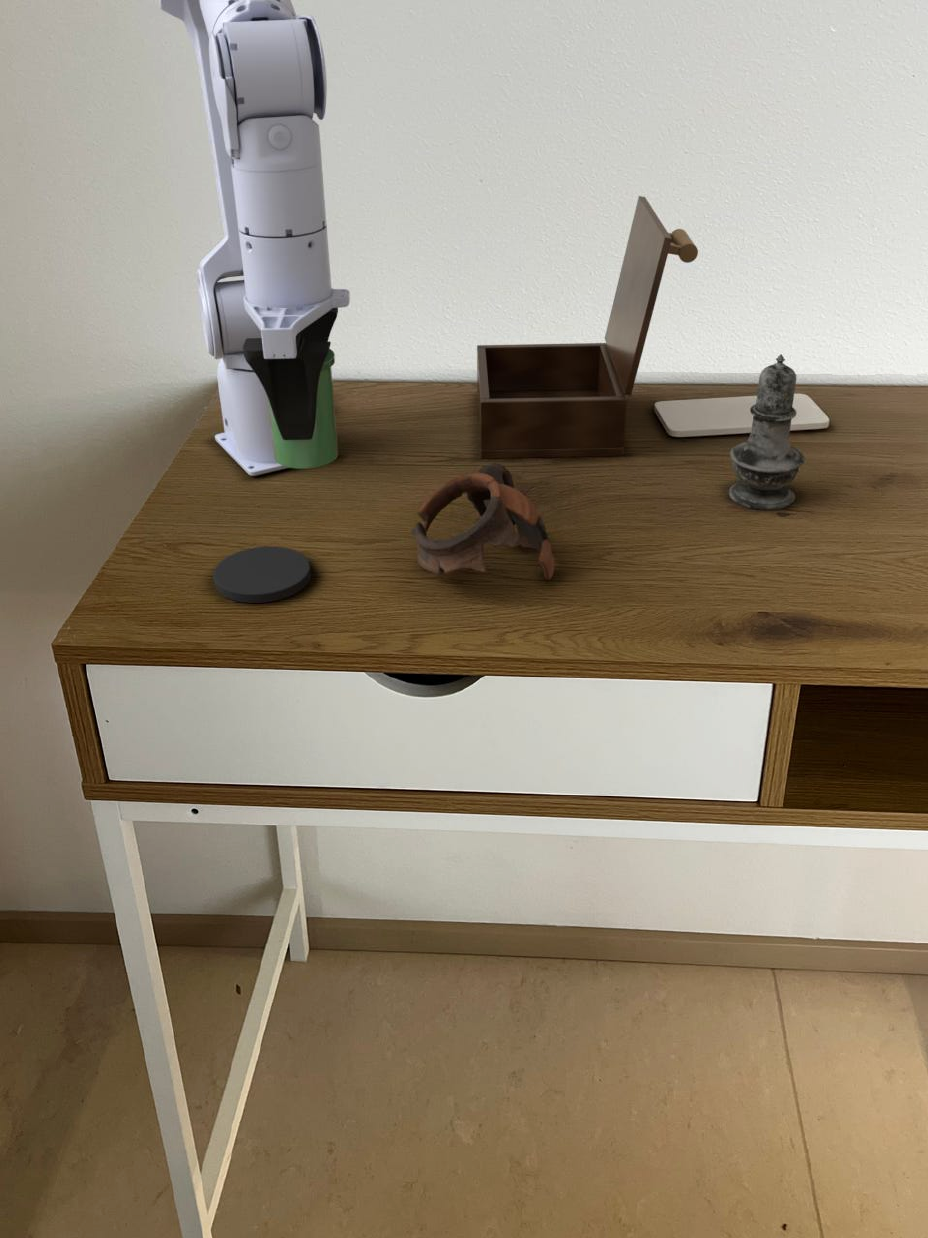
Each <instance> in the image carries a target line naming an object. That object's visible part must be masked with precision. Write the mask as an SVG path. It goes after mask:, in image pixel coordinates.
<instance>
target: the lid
mask: <svg viewBox="0 0 928 1238" xmlns="http://www.w3.org/2000/svg"><path fill="white" fill-rule="evenodd" d="M669 255H675V256H678V258H679V259H680V261H682V262H683V263H686V264H689V263H692V262H694V261H695V260H696V259H697V258H698V255H699V250H698V246H696V244H695V243H694V241H693V240H692V239H691V237H690V236H689V235H688V232H687V231H686V230H684V229H682V228H677V229H674V230H673V231H672V232H668V230H667V229H666V227H665V225H664V224H663V222H662V221H661V219H660V218H659V216H658V215H657V213H656V212H655V211H654V208H653V207H652V205H651V204H650V202H649V201H648V199H647V198H646V196H642V195H639V196H638V198H637V202H636V206H635V209H634V214H633V219H632V222H631V227H630V231H629V234H628V239H627V243H626V248H625V252H624V256H623V261H622V264H621V268H620V273H619V277H618V280H617V286H616V289H615V293H614V297H613V301H612V305H611V310H610V313H609V314H610V315H609V319H608V322H607V326H606V330H605V335H604V341H605V343H606V344H607V347H608V350H609V352H610V355H611V358H612V361H613V364H614V367H615V369H616V372H617V375H618V378H619V381H620V384H621V386H622V389H623V392H624V395H626V396H630V397H631V396H632V394H633V389H634V387H635V383H636V378H637V374H638V371H639V367H640V363H641V359H642V355H643V353H644V352H643V351H644V348H645V344H646V340H647V336H648V332H649V328H650V325H651V321H652V316H653V314H654V309H655V305H656V302H657V298H658V294H659V291H660V286H661V282H662V279H663V275H664V271H665V267H666V263H667V259H668V256H669Z"/></svg>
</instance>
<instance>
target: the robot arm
mask: <svg viewBox="0 0 928 1238" xmlns="http://www.w3.org/2000/svg"><path fill="white" fill-rule="evenodd" d="M158 2H159V9H160V10H161V11H163V12H165V13H167V14H168V15H170V16H172V17H175V19H178V20H181V21H182V22H183V23H184V27H185V29H186V31H187V34H188V36H189V39H190V41H191V44H192V47H193V49H194V52H195V55H196V60H197V66H198V74H199V80H200V86H201V93H202V100H203V106H204V113H205V121H206V126H207V131H208V133H207V134H208V139H209V145H210V146H209V147H210V153H211V158H212V166H213V171H214V178H215V179H214V180H215V184H216V190H217V197H218V198H217V199H218V204H219V211H220V218H221V225H222V230H223V238H222V240H221V241H220V242H218V244H217V245H215V247H213V248H212V249H211V250H210V251H209V252H208V253H207V254H206V255H205V256H204V257H203V258H202V260H201V261H200V262H199V264H198V269H197V271H196V278H197V285H198V301H199V302H198V303H199V310H200V317H201V323H202V329H203V335H204V341H205V346H206V349H207V353H208V354H209V355H211V356H212V357H213V358H214V359H215V360H219V362H218V365H217V369H216V380H217V386H218V394H219V401H220V409H221V416H222V424H223V431H224V432H220V433H217V434H215V435H214V440H215V441H216V443H218V445H219V446H221V448H222V449H223V450H224V451H225V452H226V453H227V454H228V455H229V456H230V457H231V458H232V459H233V460H234V461H235V462H236V463H237V464H238V465H239V466H240V467H241V468H242V470H243V471H245V473H247V474H248V475H249V476H250V477H256V476H260V475H265V474H269V473H273V472H278V471H281V470H286V469H290V468H289V467H285V466H282V465H280V464H279V463H277V462H276V460H275V456H274V447H273V438H272V429H271V421H270V412H269V403H270V406H271V408H272V411H273V415H274V418H275V421H276V424H277V426H278V429H279V432H280V434H281V436H282V438H283V440H311V439H312V437H313V433H314V428H315V421H316V408H317V392H318V383H319V377H320V372H321V369H322V367H323V364H324V362H325V359H326V357H327V354H328V352H329V349H331V343H332V342H331V341H329V339H330V335H331V332H332V330H333V327H334V325H335V322H336V320H337V318H338V314H339V308H340V309H341V308H342V309H343V308H346V307H348V306H349V305H350V302H351V294H350V289H349V290H348V289H346V288H332V275H331V264H330V252H329V250H330V249H329V237H328V224H327V214H326V201H325V188H324V187H325V186H324V174H323V160H322V149H321V147H322V146H321V134H320V132H321V131H320V124H318V123H317V122H316V121H315V120H314V119H313V118H314V114H316V117H317V118H318V119H319V120H320V121H323V120H324V118H325V115H326V108H327V96H328V95H327V93H328V91H327V90H328V82H327V81H328V80H327V69H326V68H327V67H326V59H325V53H324V49H323V45H322V44H323V43H322V40H321V36H320V32H319V28H318V26H317V23H316V20H315V18H314V16H313V15H312V14H300V15H297V14H296V12H295V9H294V6H293V3H292V0H158ZM234 277H243V279H238V280H228V281H221V280H224V279H227V278H234ZM268 400H269V403H268Z"/></svg>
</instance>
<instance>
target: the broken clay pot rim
mask: <svg viewBox="0 0 928 1238" xmlns="http://www.w3.org/2000/svg"><path fill="white" fill-rule="evenodd" d="M463 494H466V498H467V500H468V501H469V502H471V504H472V506H473V508H474V509H475V511H477V513H478V516H479V517H480V518H479V519H478V520H477V521H476V522H475V523H474V524H473V525H472V526H470V527H469V528H468V529H466V530H464V531H462V532H461V533H458V534H456V535H454V536H452V537H449V538H445V539H432V538H430V537H428V536H427V533H428V530H429V528H430V526H431V524H432V523H433V521H434V520H435V518H436V517H438V514H440V513H441V511H442V510H444V509H445V508H446V507H447V506H448V505H450V504H451V503H452V502H454V501H456V499H459V498H461V497H462V496H463ZM417 516H419V517H420V518H421V520H422V522H420V521H418V522H416V523H415V525H414V526H413V527H412V529H411V535H412V538H413V540H414V541H415V543H416V544H417V563H418V564H419V565H420V567H422V568H423V569H425V570H426V571H428V572H431V573H433V574H435V575H443V574H444V573H446V574H454V573H455V574H456V573H458V572H461V571H465V570H473V571H476V572H478V573H483V574H485V573H487V569H486V567H485V549H484V548H485V544H487V545H489V546H491V547H494V548H502V547H503V548H504V547H508V548H516V547H518V546H521V547H522V548H523V549H529V548H530V549H534V550H538V551H540V553H539V556H538V563H539V565H540V566H541V567H542V568H543V575H544V579H546V580H547V581H550V580H551V579H552V578H553V575H554V572H555V557H554V555H553V551H552V545H551V544H552V543H551V542H552V541H551V539H550V537H549V533H548V532H547V527H546V525H545V524H544V521H543V519H542V516H541V515H540V513H539V511H538V509H537V508H536V507H535V505H533V504H532V502H531V500H529V499H528V498H527V496H525V494H523V493H522V492H521V491H519V489H516V488H515V483H514V479H513V475H512V473H511V472H510V469H508V468H507V467H506V466H505V465H504V464H501V463H498V462H492V463H490V464H487V465H483V466H482V467H481V468H480V470H479V471H478V472H472V473H466V474H463V475H459V476H457V477H455V478H451V479H450V480H448V481H447V482H445V483H443V484H442V485H440V486H439V487H438V488H436V489H435V490H434V491H433V492H432V493H431V494H429V496H427V498H426V499H425V500H424V501H423V502H422V504H421V505H420V506H419V508H418V511H417ZM515 527H516V528H515Z"/></svg>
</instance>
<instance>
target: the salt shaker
mask: <svg viewBox="0 0 928 1238" xmlns="http://www.w3.org/2000/svg"><path fill="white" fill-rule="evenodd" d="M775 360H776V363H774V364H771V365H767V366H766V367H764V368H763V369H762V371H761V372H760V374H759V377H758V385H757V391H756V393H757V394H756V396H757V400H756V404H755V405H753V406H752V407H751V409H750V412H751V414H752V415H753V423H752V431H751V433H749V436H748V439H747V441H744V442H740V443H738V444H736V445H734V446H733V447H732V448H731V449H730V452H729V456H730V460H732V468H733V470H734V474H735V477H736V478H737V479H738V480H739V481H738V482H736V483H734V484H733V485H731V486H730V488H729V490H728V495H729V497H730V499H731V500H732V501H733V502H735V503H737V504H738V505H740V506H743V507H746V508H749V509H754V510H760V511H773V510H774V511H775V510H781V509H786V508H787V507H789V506H791V505H793V503H794V502H795V498H796V496H795V493H794V491H793V490H792V489H791V488H789V487H788V485H790V484H791V483H792V482H793V481H794V480H795V478H796V476H797V475H798V473H799V471H800V468H801V467H802V466H803V465H804V464H805V455H804V454H803V453H802V451H800V450H799V449H798V448H796V447H795V446H792V445H791V441H790V432H791V430H790V426H791V419H792V418H794V417H795V416H796V410H795V409H794V408H793V407H792V405H793V398H794V394H795V392H796V391H795V390H796V385H797V373H796V372H795V371H794V369H792V368H791V366H788V365H786V364H785V363H784V362H785V361H786V359H785V357H784V356H783V354H779V355H778V356H777V357H776V358H775Z"/></svg>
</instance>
